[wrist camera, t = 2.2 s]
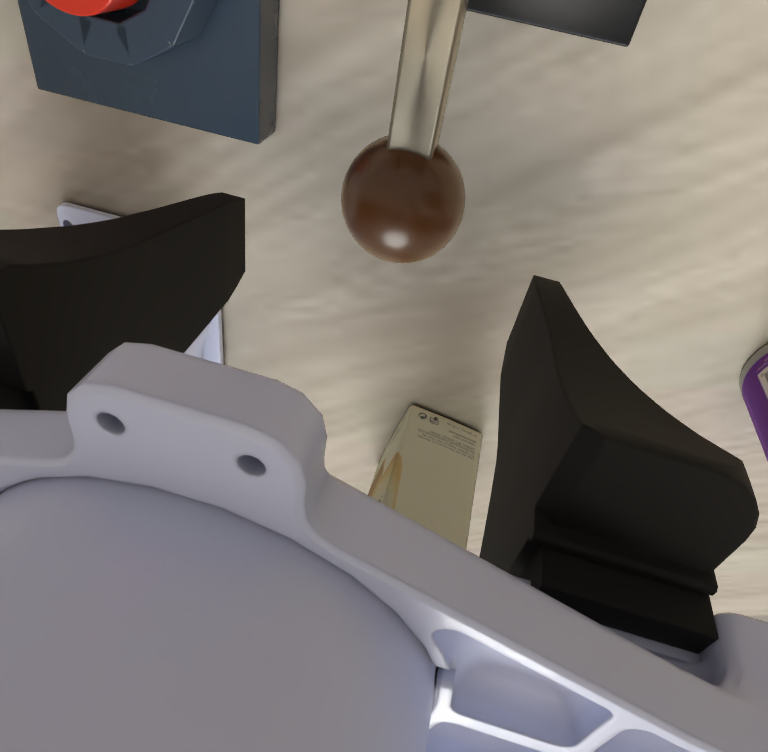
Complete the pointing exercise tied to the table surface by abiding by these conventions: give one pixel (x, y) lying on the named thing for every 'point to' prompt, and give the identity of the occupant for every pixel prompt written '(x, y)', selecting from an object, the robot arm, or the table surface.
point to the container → (757, 393)
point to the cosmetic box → (430, 473)
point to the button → (90, 6)
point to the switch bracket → (570, 16)
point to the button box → (165, 60)
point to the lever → (412, 148)
